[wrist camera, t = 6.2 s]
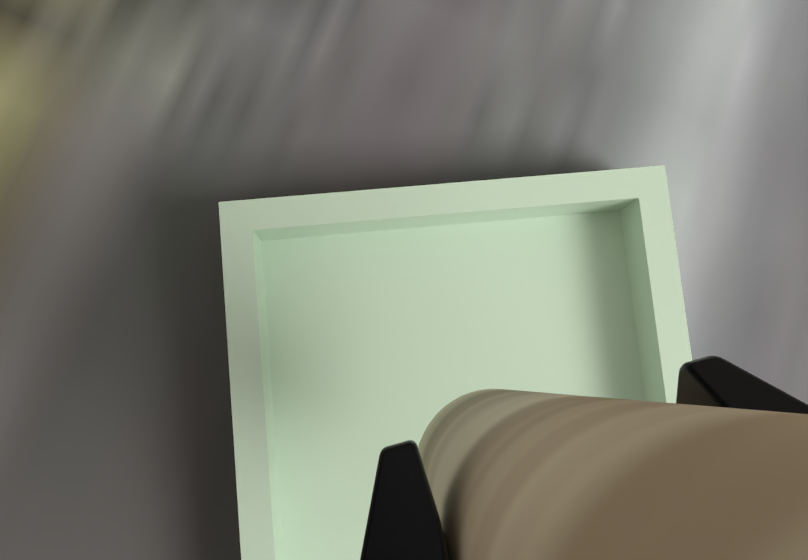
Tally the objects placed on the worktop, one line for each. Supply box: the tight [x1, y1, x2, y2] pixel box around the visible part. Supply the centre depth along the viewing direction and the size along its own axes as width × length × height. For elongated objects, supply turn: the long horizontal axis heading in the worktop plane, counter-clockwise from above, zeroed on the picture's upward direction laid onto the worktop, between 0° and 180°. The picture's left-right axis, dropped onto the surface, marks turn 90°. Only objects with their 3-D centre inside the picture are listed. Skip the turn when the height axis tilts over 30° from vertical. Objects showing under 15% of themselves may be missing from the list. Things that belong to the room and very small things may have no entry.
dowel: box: [418, 389, 808, 560], centre depth 9 cm, size 3×3×13 cm
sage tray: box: [219, 165, 692, 560], centre depth 19 cm, size 16×12×2 cm
